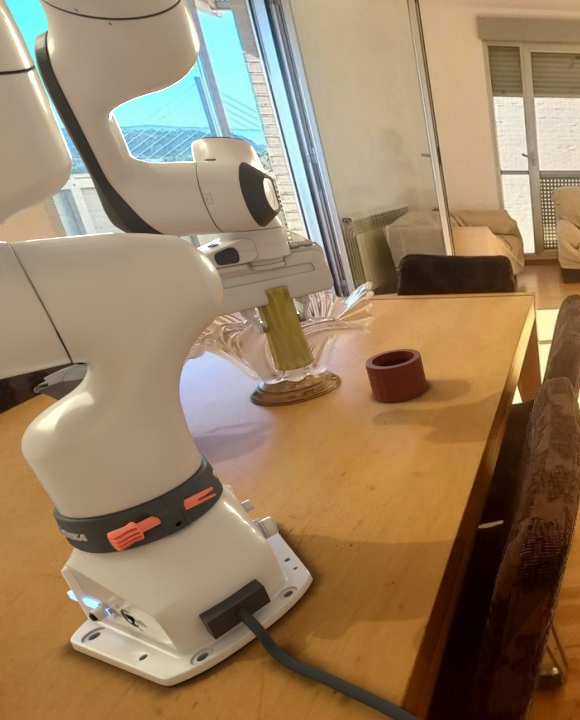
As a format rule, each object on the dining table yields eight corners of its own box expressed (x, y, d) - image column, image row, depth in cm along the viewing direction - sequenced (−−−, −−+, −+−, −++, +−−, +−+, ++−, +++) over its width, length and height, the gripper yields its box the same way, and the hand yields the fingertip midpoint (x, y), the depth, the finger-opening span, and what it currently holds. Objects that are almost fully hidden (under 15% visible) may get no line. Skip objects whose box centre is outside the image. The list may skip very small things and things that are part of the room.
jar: (437, 385, 102) (431, 353, 99) (396, 406, 93) (388, 372, 91) (404, 377, 106) (397, 346, 103) (362, 396, 98) (353, 363, 95)
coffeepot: (105, 473, 75) (48, 371, 68) (58, 469, 77) (-3, 368, 70) (198, 423, 89) (159, 334, 82) (156, 421, 91) (114, 333, 84)
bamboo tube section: (308, 368, 84) (283, 289, 78) (269, 373, 82) (240, 293, 77) (319, 356, 89) (296, 281, 84) (282, 360, 88) (257, 285, 82)
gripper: (308, 237, 87) (329, 309, 93) (172, 257, 71) (207, 343, 76) (329, 238, 85) (349, 312, 90) (192, 259, 68) (227, 348, 73)
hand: (283, 326), depth 83 cm, fingers closed on bamboo tube section, 5 cm apart
